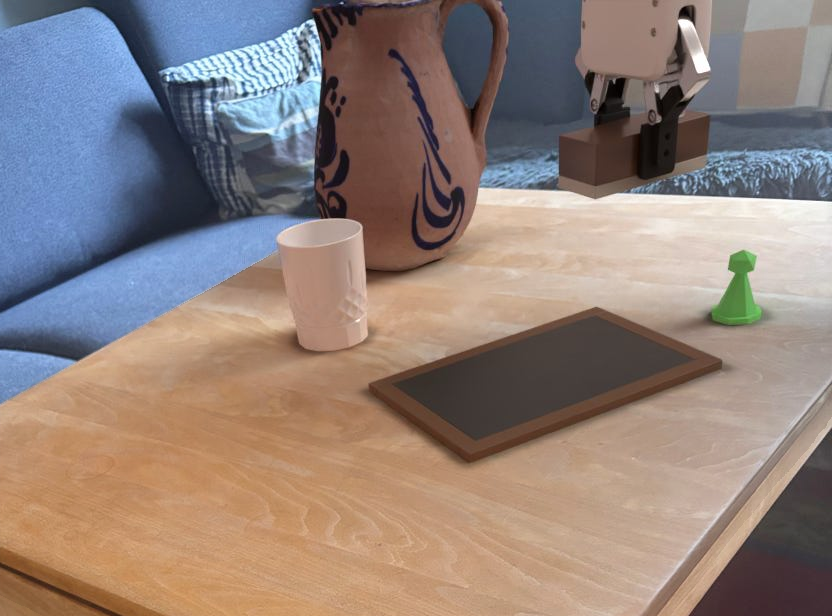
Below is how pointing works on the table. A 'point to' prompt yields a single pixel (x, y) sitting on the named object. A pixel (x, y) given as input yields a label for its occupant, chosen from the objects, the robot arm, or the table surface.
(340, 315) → the white cup
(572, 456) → the table surface
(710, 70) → the robot arm
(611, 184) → the eraser
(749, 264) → the game piece
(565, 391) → the slate board
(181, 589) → the table surface
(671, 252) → the table surface
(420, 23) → the ceramic pitcher
